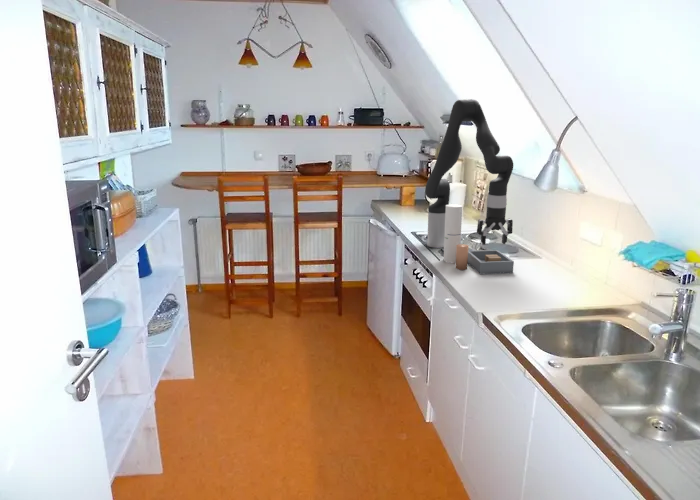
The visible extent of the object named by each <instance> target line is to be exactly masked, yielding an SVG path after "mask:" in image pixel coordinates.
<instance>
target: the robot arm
mask: <svg viewBox="0 0 700 500" xmlns="http://www.w3.org/2000/svg"><path fill="white" fill-rule="evenodd" d="M463 122H472V123H473V124H474V126H475V127H476V133H475V142H476V144H477V147H478V148H479V150H480V152H481V154H482V155H483V160H484V164H485V165H484V166H485V168H486V170H487V172H488V173H490V174H492V175H497V177H495V178H494V179H492V180H490V181H489V185H488V196H487V201H486V214H485V215H486V217H485V219H478V220H477V227H476V233H477V234H478V235H480V243H481V244H482V245H484V246H485V245H486V240H487V236H486V235H488V233H489V232H490V231H501V233H502V234H501V235H502V237H501V243H502V245H506V243H508V235H511V234H513V222H514V221H513V219H511V218H507V219H506V212H507V205H508V204H507V201H508V200H507V199H508V198H507V194H508V193H507V192H508V184H509V182H510V178H511V176H512V173H513V170H514V161H513V159H512V157H511V156H509V155H498V154H499V153H500V150H501V147H500V145H499V144H498V142H497V140H496V138H495V137H494V136H493V133H492V132H491V130H490V128H489V125H488V122H487V119H486V116H485V114H484V110H483V108H482V106H481V104H480V102H479V101H478V100H477V99H473V98H471V99H470V98H466V99H463V98H462V99H461V98H460V99H456V100H455V102H454V103H453V105H452V108H451V111H450V115H449V120H448V123H447V128H446V130H445V131H446V132H445V134H444V137H443V140H442V143H441V145H440V149H439V151H438V155H437V158H436V161H435V164H434V166H433V168H432V171H431V173H430V175H429V177H428V179H427V181H426V183H425V190H424V192H425V195H426V198H427V199H432V200H433V199H437V200H436V201H435V202H434V203H432V204H430V205H428V209H427V210H428V211H427V212H428V213H427V214H428V215H427V242H426V243H427V244H426V245H427V247H428V248H429V247H430V248H437V249H439V248H440V249H441V248H444V236H445V212H446V205H449V204H450V195H451V184H450V181H449V180H447V179H446V178H443V177H444V175H446V173H448V172H449V171H450V170H451V169H452V168H453V167H454V166H455V165H456V163H457V162H458V160H459V157H460V155H461V152H462V141H461V139H460V134H459V133H460V129H461V126H462V123H463ZM485 224H486V225H485ZM505 224H506V225H507V229H506V227H505ZM484 225H485V226H484ZM483 226H484V228H483Z"/></svg>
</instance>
